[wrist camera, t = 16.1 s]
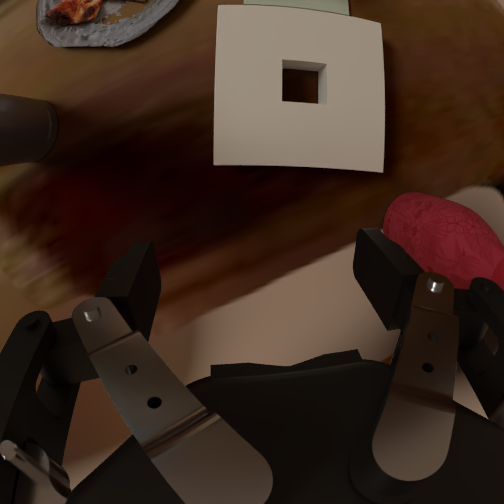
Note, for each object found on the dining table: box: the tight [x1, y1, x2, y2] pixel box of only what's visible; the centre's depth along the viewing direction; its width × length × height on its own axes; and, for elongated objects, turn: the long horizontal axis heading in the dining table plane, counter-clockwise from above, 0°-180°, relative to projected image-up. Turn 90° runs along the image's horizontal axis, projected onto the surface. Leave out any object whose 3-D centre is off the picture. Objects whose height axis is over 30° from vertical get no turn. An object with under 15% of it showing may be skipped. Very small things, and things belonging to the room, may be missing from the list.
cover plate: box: [214, 5, 385, 173], centre depth 32 cm, size 20×20×4 cm
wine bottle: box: [383, 192, 504, 291], centre depth 26 cm, size 10×10×30 cm
